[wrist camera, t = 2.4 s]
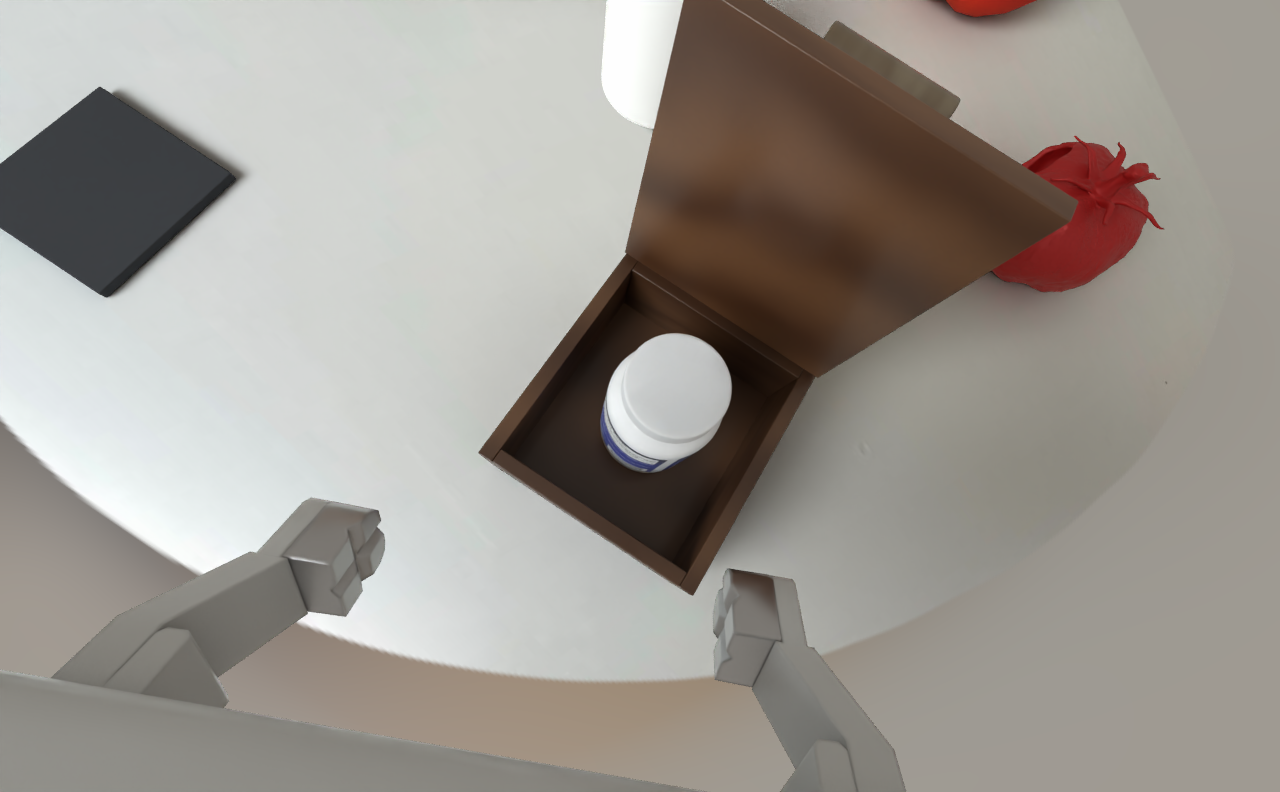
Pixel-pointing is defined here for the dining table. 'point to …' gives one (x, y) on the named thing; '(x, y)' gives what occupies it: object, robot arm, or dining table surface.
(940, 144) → the chest lid
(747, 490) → the chest
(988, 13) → the tomato
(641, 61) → the beverage can
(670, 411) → the pill bottle
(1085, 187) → the red crowned fruit
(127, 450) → the dining table surface
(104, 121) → the mat
